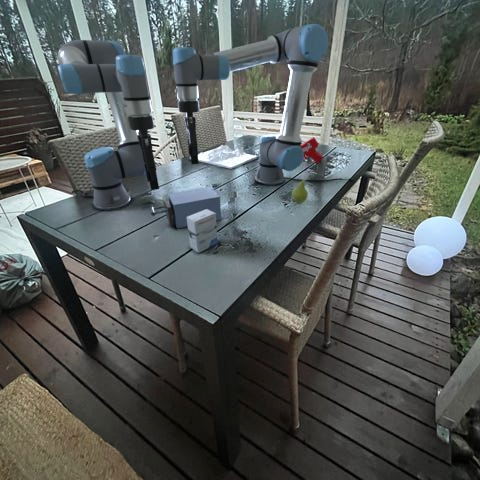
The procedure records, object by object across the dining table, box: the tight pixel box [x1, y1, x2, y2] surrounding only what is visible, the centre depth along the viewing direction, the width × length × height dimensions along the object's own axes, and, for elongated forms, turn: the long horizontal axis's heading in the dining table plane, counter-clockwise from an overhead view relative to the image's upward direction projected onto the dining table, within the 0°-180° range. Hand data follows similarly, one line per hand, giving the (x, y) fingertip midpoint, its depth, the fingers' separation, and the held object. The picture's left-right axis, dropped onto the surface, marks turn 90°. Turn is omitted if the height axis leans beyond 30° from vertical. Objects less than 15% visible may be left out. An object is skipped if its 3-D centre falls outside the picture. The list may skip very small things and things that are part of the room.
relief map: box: [189, 144, 258, 170], centre depth 177 cm, size 27×35×5 cm
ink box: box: [187, 209, 219, 254], centre depth 89 cm, size 8×5×12 cm, turn 134°
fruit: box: [291, 174, 311, 204], centre depth 118 cm, size 7×8×12 cm
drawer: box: [149, 196, 175, 227], centre depth 105 cm, size 22×10×8 cm, turn 113°
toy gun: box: [301, 136, 324, 165], centre depth 169 cm, size 18×4×15 cm
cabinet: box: [167, 186, 222, 229], centre depth 107 cm, size 18×11×10 cm, turn 113°
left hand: (153, 184), depth 96 cm, fingers open, 8 cm apart
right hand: (193, 159), depth 109 cm, fingers open, 13 cm apart
